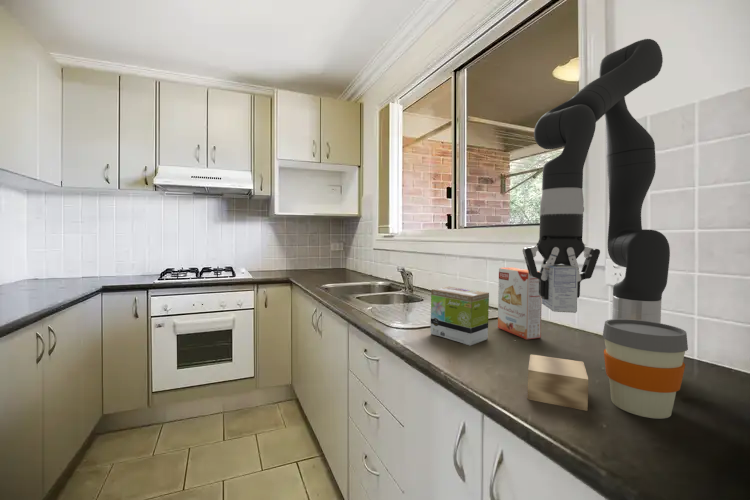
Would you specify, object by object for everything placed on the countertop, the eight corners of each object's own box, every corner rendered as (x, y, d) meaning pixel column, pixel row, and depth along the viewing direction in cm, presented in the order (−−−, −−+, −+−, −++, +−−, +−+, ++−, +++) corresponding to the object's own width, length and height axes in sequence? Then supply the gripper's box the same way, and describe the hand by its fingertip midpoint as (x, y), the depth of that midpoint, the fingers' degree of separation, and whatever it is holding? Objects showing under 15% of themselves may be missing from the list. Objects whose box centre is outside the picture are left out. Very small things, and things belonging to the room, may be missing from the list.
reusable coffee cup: (592, 405, 66) (595, 326, 65) (609, 385, 75) (611, 315, 74) (680, 432, 57) (685, 341, 56) (687, 406, 66) (691, 327, 65)
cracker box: (496, 328, 120) (497, 267, 119) (511, 327, 122) (512, 266, 121) (525, 340, 107) (527, 271, 106) (541, 338, 109) (543, 271, 108)
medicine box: (577, 313, 66) (579, 267, 65) (551, 312, 67) (553, 266, 66) (564, 305, 74) (565, 263, 73) (541, 304, 74) (542, 263, 74)
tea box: (429, 335, 112) (429, 288, 111) (448, 329, 119) (449, 285, 118) (470, 346, 101) (471, 295, 100) (489, 339, 107) (490, 291, 107)
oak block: (582, 390, 73) (583, 361, 73) (587, 411, 64) (588, 379, 64) (529, 381, 77) (530, 354, 77) (527, 400, 68) (528, 369, 68)
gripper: (593, 214, 71) (590, 297, 72) (518, 214, 74) (516, 294, 75) (610, 211, 64) (606, 305, 65) (526, 212, 67) (523, 301, 68)
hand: (558, 299), depth 70 cm, fingers closed on medicine box, 4 cm apart
